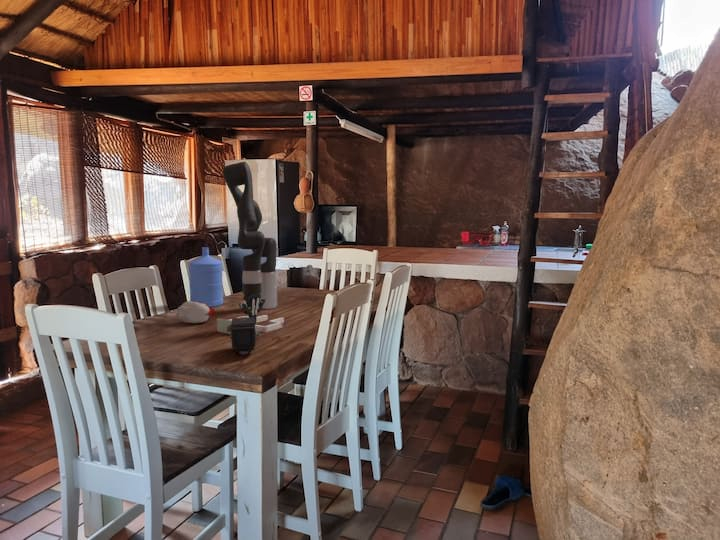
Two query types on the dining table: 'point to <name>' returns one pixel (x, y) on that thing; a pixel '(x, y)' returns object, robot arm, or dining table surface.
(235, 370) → the dining table surface
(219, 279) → the water jug
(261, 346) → the dining table surface
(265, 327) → the box
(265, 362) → the dining table surface
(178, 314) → the white and red lump
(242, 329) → the camera
